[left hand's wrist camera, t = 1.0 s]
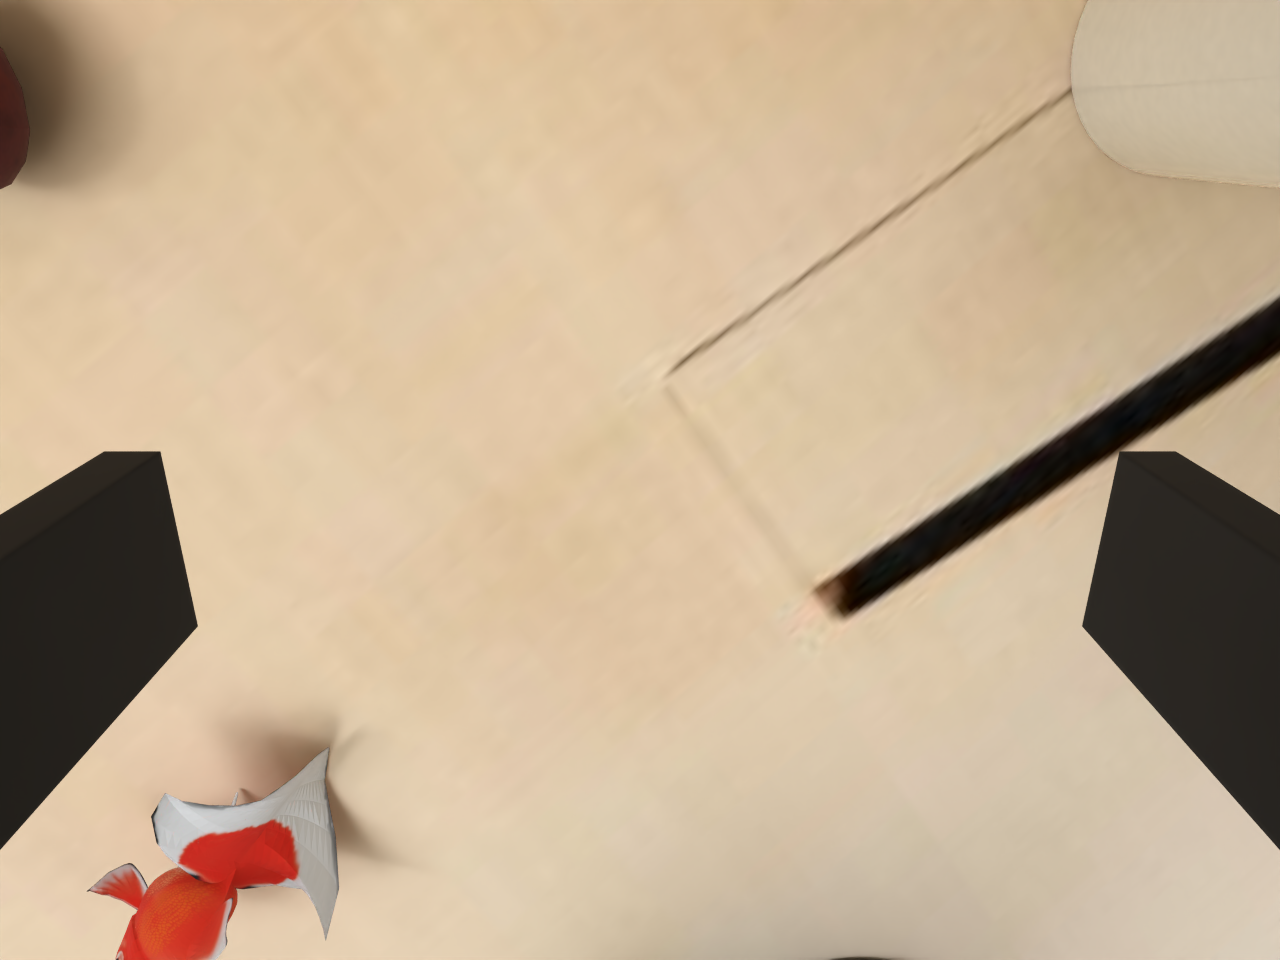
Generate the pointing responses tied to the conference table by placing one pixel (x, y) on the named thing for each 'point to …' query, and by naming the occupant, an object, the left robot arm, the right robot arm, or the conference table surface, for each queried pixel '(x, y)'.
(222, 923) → the fish
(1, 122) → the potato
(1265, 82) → the jar
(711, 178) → the conference table surface
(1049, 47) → the conference table surface
